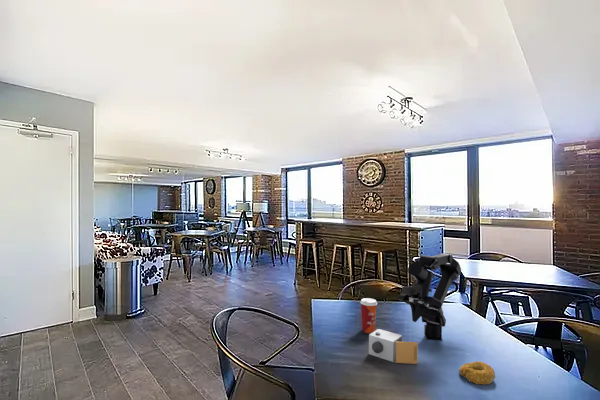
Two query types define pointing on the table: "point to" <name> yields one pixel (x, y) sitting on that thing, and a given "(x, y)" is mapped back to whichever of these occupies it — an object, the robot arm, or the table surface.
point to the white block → (383, 344)
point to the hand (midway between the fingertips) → (414, 321)
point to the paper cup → (368, 314)
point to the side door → (405, 352)
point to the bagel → (478, 372)
